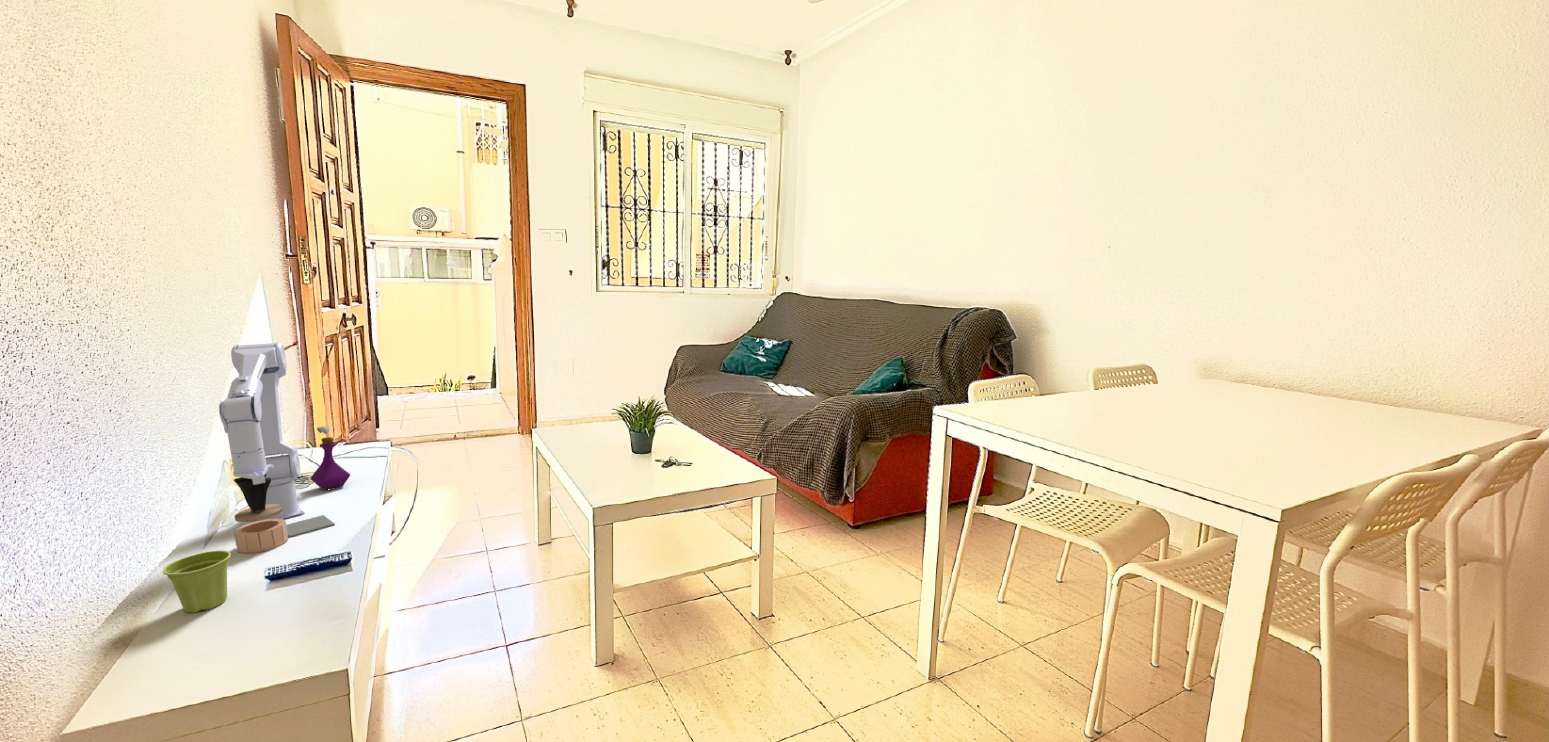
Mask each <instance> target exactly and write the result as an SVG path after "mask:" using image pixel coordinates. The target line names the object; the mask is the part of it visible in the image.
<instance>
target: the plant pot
mask: <svg viewBox="0 0 1549 742" xmlns="http://www.w3.org/2000/svg"><path fill="white" fill-rule="evenodd" d="M231 556H232V553H231V551H228V550H224V549H223V550H209V551H205V552H199V553H195V554H192V555H188V556H185V557H182V558H179V559H177V560H175V561H173V562H171V563H169V564H168V565H166V566H165V567H164V568H162V569H163V570H162V573H163V575H166V576H167V578H168V580H169V581H171V583H172V585H173V588H174V590H175V592H176V594H177V597H178V600H179V601H180V604H181V606H182V609H183V611H184V612H185V613H190V614H191V613H192V614H193V613H194V614H195V613H198V612H200V611H203V610H208V611H209V610H211V609H214V608H216V607H218V606H220V605H222V604H223V603H225V602H226V600H227V598H228V565H229V561H230V558H231Z"/></svg>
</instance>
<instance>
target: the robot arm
mask: <svg viewBox="0 0 1549 742" xmlns="http://www.w3.org/2000/svg"><path fill="white" fill-rule="evenodd" d="M230 351H231V353H230V357H231V363H232V365H233V367H234V369H235V370H236V371H237V373H238V374H239V375H238V377H235V378H234V379H233V380H232V381H231V383H230V385H229V386H230V387H229V390H228V394H227V397H226V398H224V400H223V401H220V402H219V406H218V413H219V418H220V421H221V424H222V426H223V430H224V433H225V434H227V437H228V444H229V445H228V446H229V451H230V456H231V463H232V467H233V472H232V475H233V476H234V477H236V478H234V479H233V482H234V483H235V484H236V485H237V486H238V487H239V490H240V491H241V493H242V494H243V497H244V499H245V501H246V505H247V506H248V507H249V508H250V507H251V509H252V510H253V511H258V510H262V509H265V505H268V504H279V505H281V506H282V511H281V512H280V513H278V514H276V515H274V516H271V517H269V518H265V519H261V520H268V519H284V518H285V519H289V518H292V517H296V516H300V515H304V514H305V511H304V510H303V509H302V508H300V507H299V502H298V495H297V489H296V482H295V479H297V478H298V477H299V476H300V474H301V465H300V458H299V456H298V455H299V454H298V450H297V449H296V447H294V446H292V445H290V444H289V443H286V442H284V441H283V439H284V438H283V429H282V418H281V407H280V406H281V405H280V394H279V383H280V379H281V378H283V377H284V376H287V371H288V367H287V356H286V350H285V348H284V345H283V344H282V343H281V342H279V341H277V342H272V343H257V344H256V343H255V344H242V345H241V344H240V345H239V344H235V345H233V346H232V348H231V350H230ZM285 519H284V520H285Z"/></svg>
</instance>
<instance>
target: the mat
mask: <svg viewBox="0 0 1549 742" xmlns="http://www.w3.org/2000/svg"><path fill="white" fill-rule="evenodd" d="M335 525H336V524H335V522H333V521H332V520H331V519H330V518H328V517H327V516H326V515H324V514H322V515H318V516H315V517H310V518H306V519H304V520H300V521H295V522H291V523H289V524H287V523H286V526H287V532H288V538H294V537H297V536H301V535H304V534H308V533H311V532H315V531H318V530H322V529H325V528H330V527H332V526H333V527H334V526H335Z"/></svg>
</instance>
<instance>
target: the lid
mask: <svg viewBox="0 0 1549 742" xmlns="http://www.w3.org/2000/svg"><path fill="white" fill-rule="evenodd" d="M281 511H282V506H281V505H279V504H268V505H265V509H262V510H258V511H253V510H252V509H251V507H249V508H246V509H243V510H241V511H239V512H237V513H236V514H235V515H234V521H235V522H238V523H248V522H249V523H252V522H257V521H261V520H262V519H265V518H269V517H271V516H274V515H276V514H278V513H280V512H281Z"/></svg>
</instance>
